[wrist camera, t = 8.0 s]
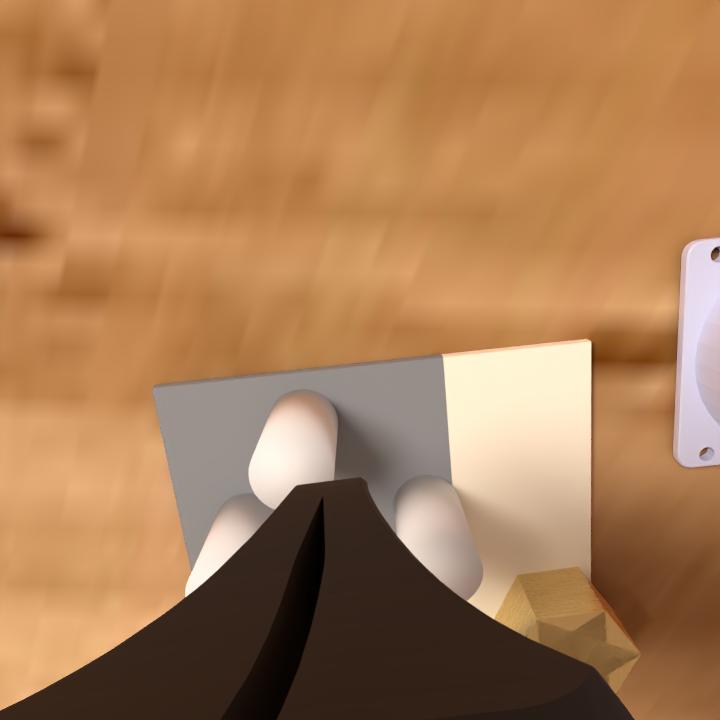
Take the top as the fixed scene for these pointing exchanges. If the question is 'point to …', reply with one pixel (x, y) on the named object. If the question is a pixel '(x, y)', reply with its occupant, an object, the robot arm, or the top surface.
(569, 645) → the tan faceted polyhedron
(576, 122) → the top surface
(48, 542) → the top surface
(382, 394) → the board
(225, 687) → the robot arm
